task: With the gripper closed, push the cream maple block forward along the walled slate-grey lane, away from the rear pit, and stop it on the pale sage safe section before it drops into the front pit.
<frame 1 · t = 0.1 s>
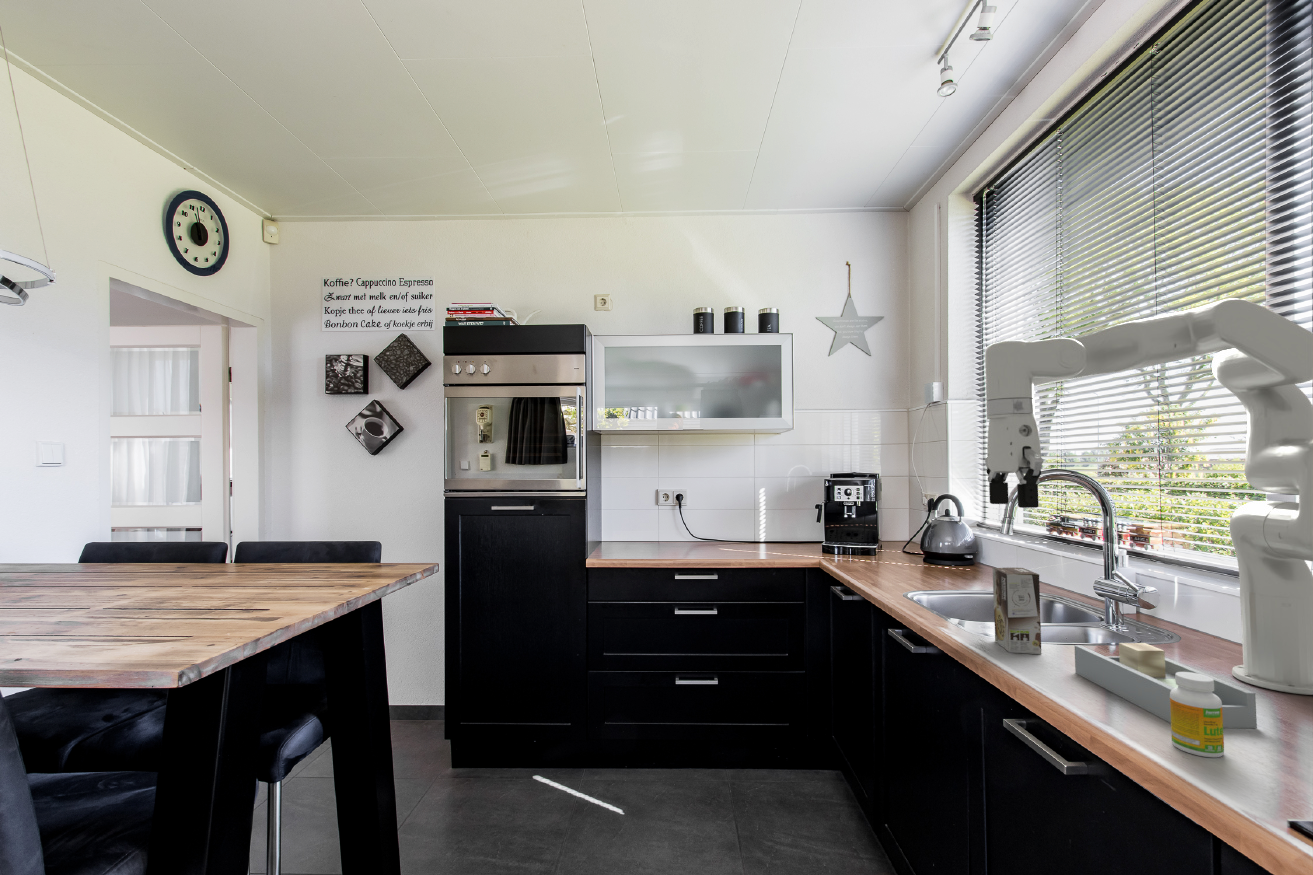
hand: (1013, 505, 112), 31 cm above the counter, fingers open, 9 cm apart
coffee box: (1017, 648, 132), on the counter
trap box: (1155, 697, 103), on the counter
supplement bottle: (1197, 750, 85), on the counter
block: (1142, 672, 106), point 3 cm above the counter, touching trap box
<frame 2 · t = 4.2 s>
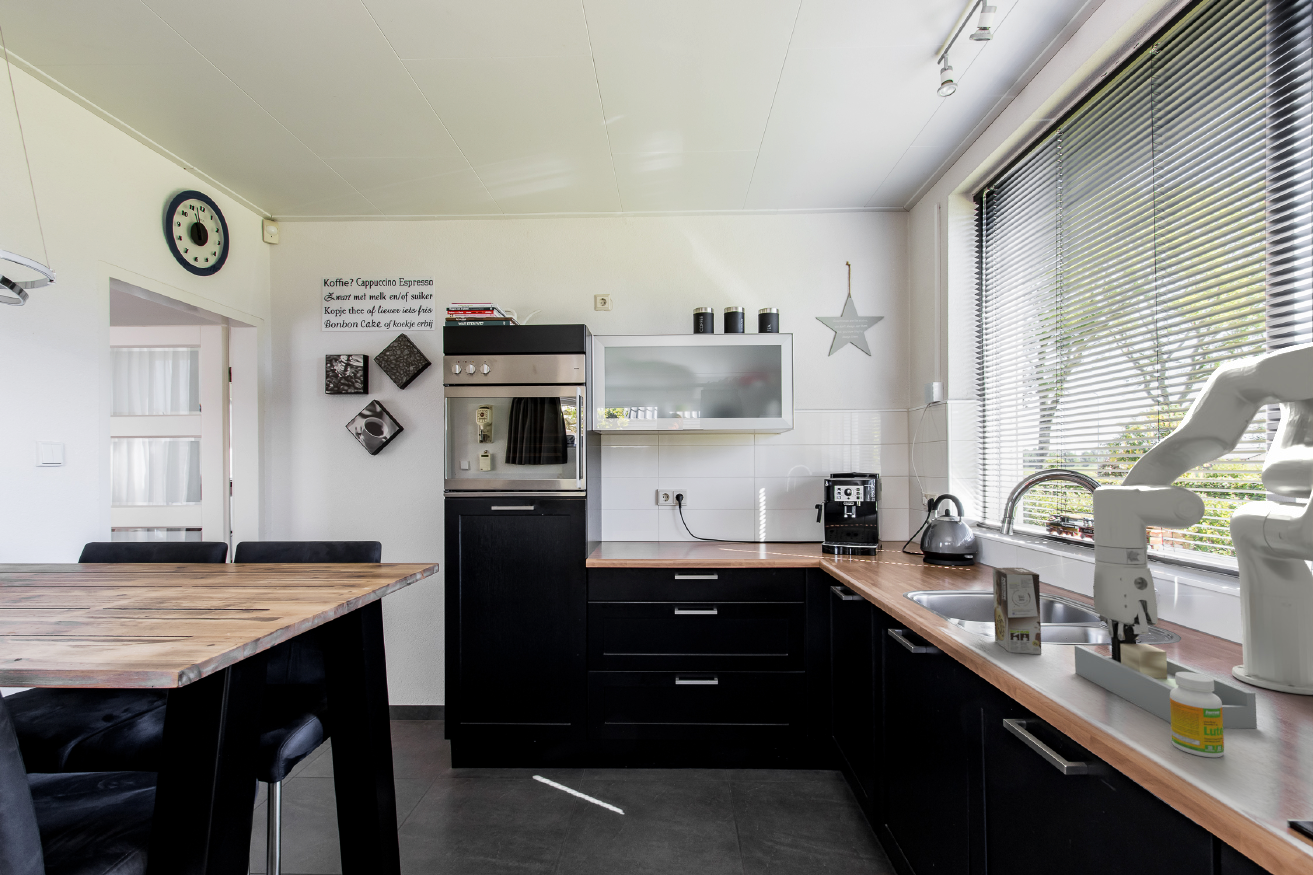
hand: (1124, 660, 110), 4 cm above the counter, fingers closed
block: (1143, 673, 106), point 3 cm above the counter, touching gripper
everything else where it was.
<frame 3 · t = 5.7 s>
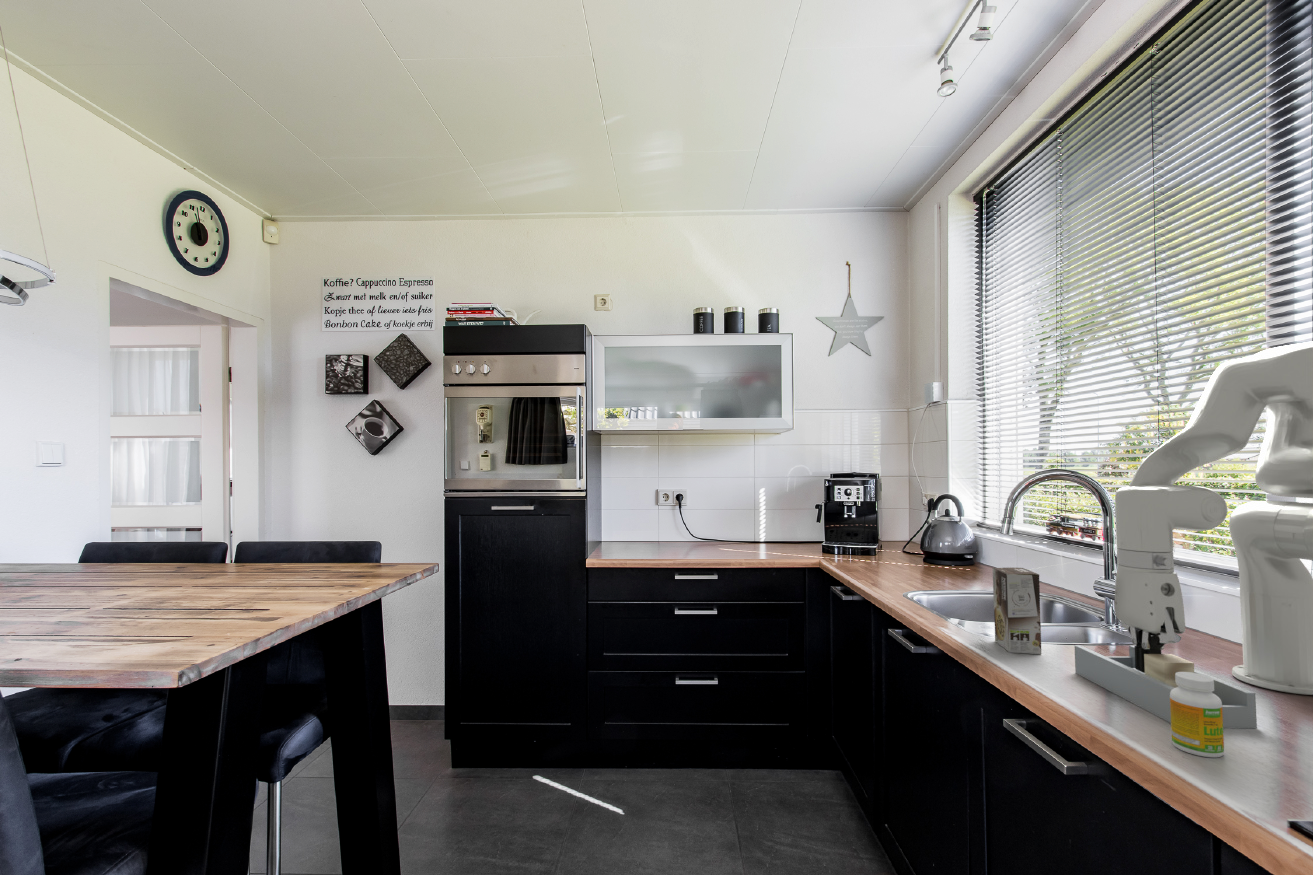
hand: (1148, 671, 104), 4 cm above the counter, fingers closed
block: (1169, 686, 100), point 3 cm above the counter, touching gripper, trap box
everything else where it was.
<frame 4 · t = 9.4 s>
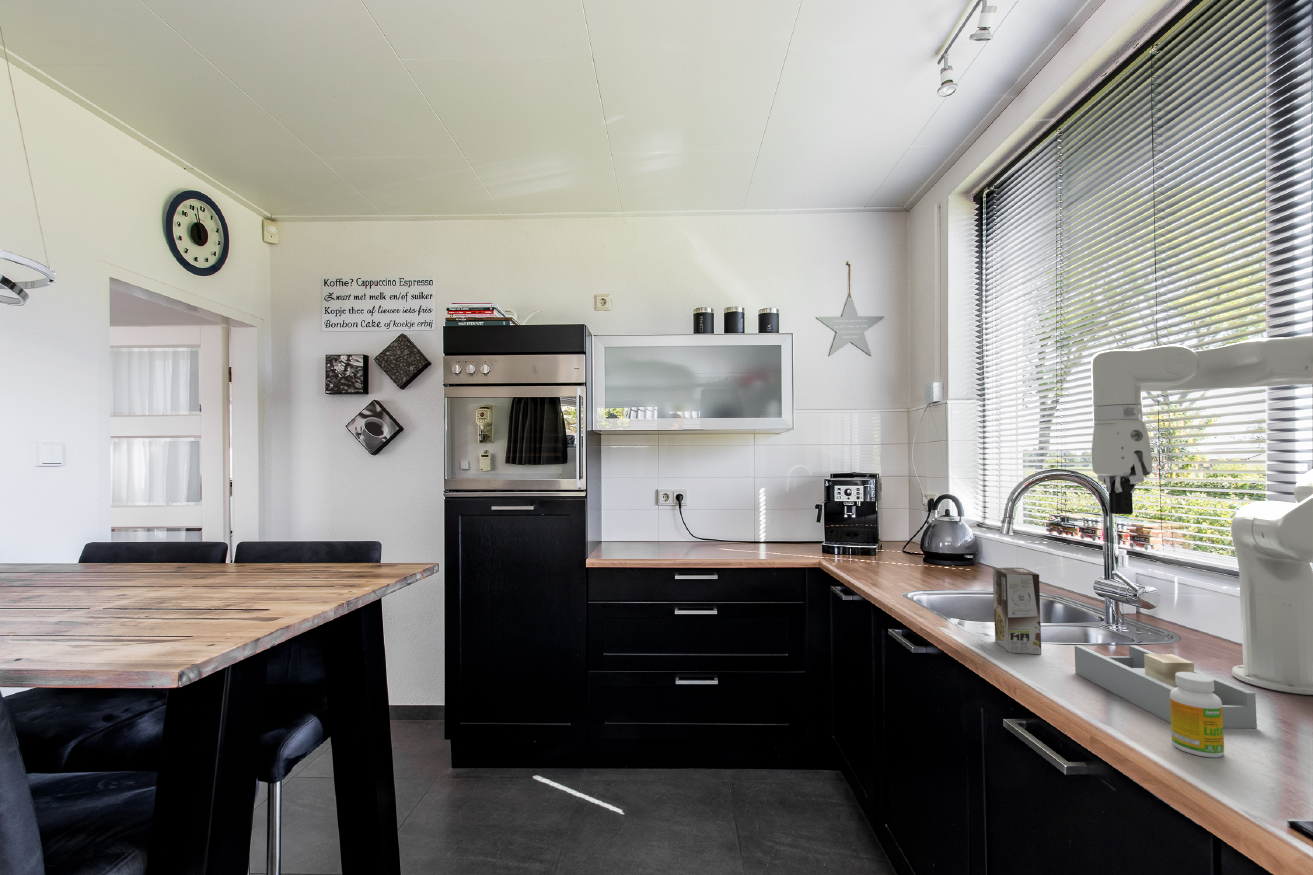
hand: (1121, 513, 117), 29 cm above the counter, fingers closed
block: (1169, 686, 100), point 3 cm above the counter, touching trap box
everything else where it was.
at the end: block 1.0 cm from the target spot on the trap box, point 3.0 cm above the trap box's base; block tilted 0°; block moved 6.4 cm from its start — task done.
